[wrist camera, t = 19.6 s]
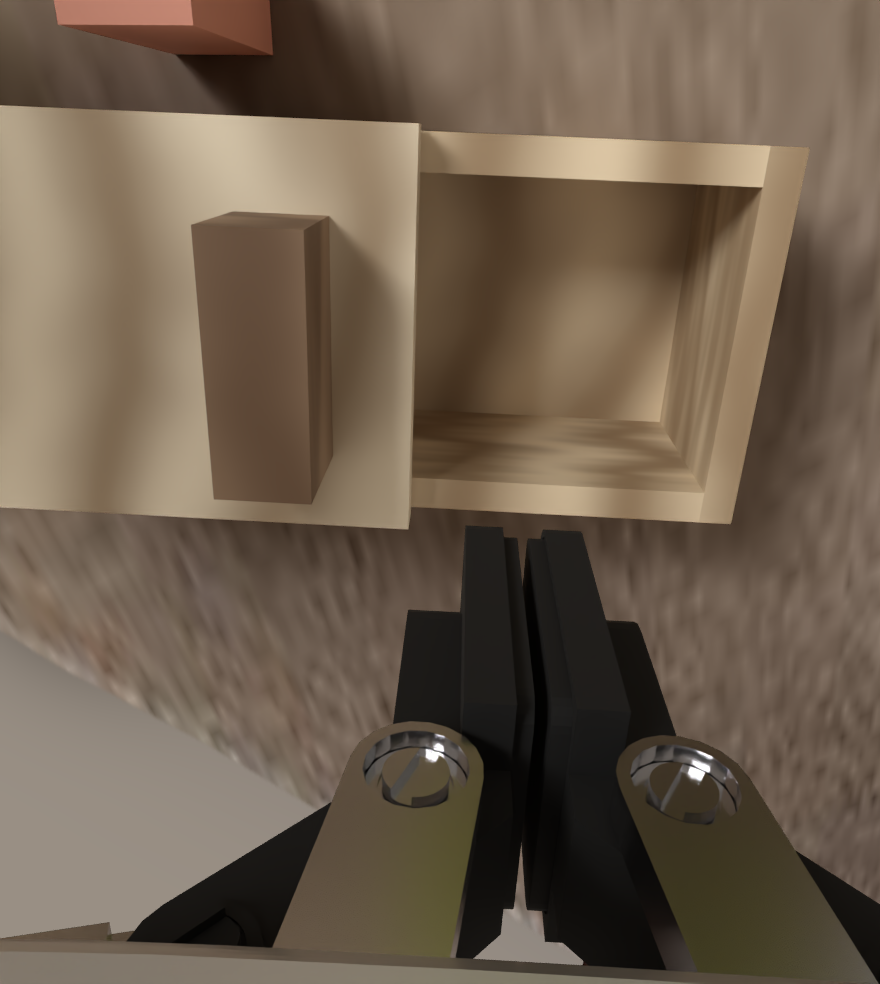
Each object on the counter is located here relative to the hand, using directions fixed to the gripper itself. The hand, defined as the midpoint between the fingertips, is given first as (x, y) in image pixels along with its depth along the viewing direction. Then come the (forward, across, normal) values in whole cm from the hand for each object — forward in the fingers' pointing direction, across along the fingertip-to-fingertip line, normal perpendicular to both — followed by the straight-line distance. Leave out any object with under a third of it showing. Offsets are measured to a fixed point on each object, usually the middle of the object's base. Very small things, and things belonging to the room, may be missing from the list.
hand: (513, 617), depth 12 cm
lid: (+17, +13, 0) cm, 22 cm away
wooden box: (+27, +5, 0) cm, 27 cm away
